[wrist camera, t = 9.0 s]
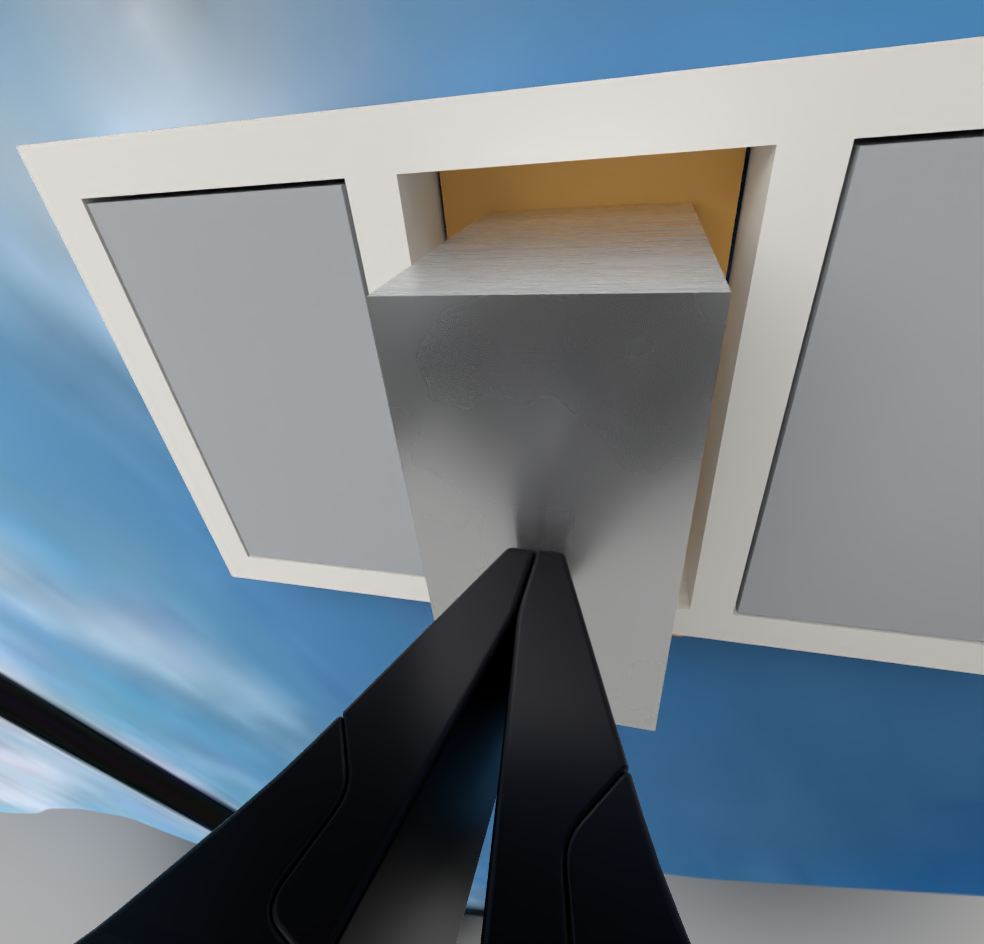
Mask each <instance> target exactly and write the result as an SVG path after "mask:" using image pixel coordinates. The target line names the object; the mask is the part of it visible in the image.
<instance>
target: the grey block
mask: <svg viewBox="0 0 984 944" xmlns="http://www.w3.org/2000/svg"><path fill="white" fill-rule="evenodd" d="M366 297H367V302H368V307H369V311H370V316H371V321H372V326H373V330H374V335H375V340H376V345H377V350H378V354H379V359H380V364H381V369H382V373H383V378H384V383H385V388H386V392H387V397H388V402H389V407H390V412H391V416H392V421H393V426H394V431H395V435H396V440H397V445H398V450H399V455H400V459H401V464H402V469H403V474H404V478H405V483H406V488H407V493H408V498H409V502H410V507H411V512H412V517H413V521H414V526H415V531H416V536H417V540H418V545H419V550H420V555H421V560H422V564H423V569H424V574H425V579H426V583H427V588H428V593H429V598H430V603H431V607H432V612H433V617H434V621H435V620H436V619H437V618H438V617H439V616H440V615H441V614H442V613H443V612H444V611H445V610H446V609H447V608H448V607H449V606H450V605H451V604H452V603H453V602H454V601H455V600H456V599H457V598H458V597H459V596H460V595H461V594H462V593H463V592H464V591H465V590H466V589H467V588H468V587H469V586H470V585H471V584H472V583H473V582H474V581H475V580H476V579H477V578H478V577H479V576H480V575H481V574H482V573H483V572H484V571H485V570H486V569H487V568H488V567H489V566H490V565H491V564H492V563H493V562H494V561H495V560H496V559H497V558H498V557H499V556H500V555H501V554H502V553H503V552H504V551H505V550H507V549H508V548H522V549H531V550H533V551H535V553H537V552H538V551H540V550H543V551H553V552H561V553H563V554H564V555H565V557H566V560H567V563H568V567H569V570H570V573H571V577H572V580H573V583H574V587H575V590H576V593H577V597H578V600H579V604H580V607H581V610H582V614H583V617H584V620H585V624H586V627H587V630H588V634H589V637H590V640H591V644H592V647H593V650H594V654H595V657H596V660H597V664H598V667H599V671H600V674H601V677H602V681H603V684H604V687H605V691H606V694H607V697H608V701H609V704H610V707H611V711H612V714H613V717H614V721H615V724H617V725H623V726H628V727H634V728H640V729H645V730H651V731H655V729H656V723H657V717H658V711H659V706H660V700H661V694H662V688H663V683H664V677H665V671H666V665H667V660H668V654H669V648H670V642H671V637H672V631H673V625H674V619H675V614H676V608H677V602H678V596H679V591H680V585H681V579H682V574H683V568H684V562H685V556H686V551H687V545H688V539H689V533H690V528H691V522H692V516H693V510H694V505H695V499H696V493H697V487H698V482H699V476H700V470H701V464H702V459H703V453H704V447H705V441H706V436H707V430H708V424H709V418H710V413H711V407H712V401H713V395H714V390H715V384H716V378H717V372H718V367H719V361H720V355H721V350H722V344H723V338H724V332H725V327H726V321H727V315H728V309H729V304H730V298H731V290H730V288H729V285H728V283H727V281H726V279H725V277H724V274H723V272H722V270H721V268H720V265H719V263H718V261H717V259H716V256H715V254H714V252H713V250H712V248H711V245H710V243H709V241H708V239H707V236H706V234H705V232H704V230H703V227H702V225H701V223H700V221H699V218H698V216H697V214H696V212H695V210H694V207H693V205H692V203H691V201H688V202H669V203H649V204H629V205H609V206H589V207H570V208H550V209H530V210H510V211H490V212H487V213H485V214H484V215H482V216H481V217H480V218H478V219H477V220H475V221H474V222H472V223H471V224H470V225H468V226H467V227H465V228H464V229H462V230H461V231H459V232H458V233H457V234H455V235H454V236H452V237H451V238H449V239H448V240H447V241H445V242H444V243H442V244H441V245H439V246H438V247H437V248H435V249H434V250H432V251H431V252H429V253H428V254H426V255H425V256H424V257H422V258H421V259H419V260H418V261H416V262H415V263H414V264H412V265H411V266H409V267H408V268H406V269H405V270H404V271H402V272H401V273H399V274H398V275H396V276H395V277H394V278H392V279H391V280H389V281H388V282H386V283H385V284H383V285H382V286H381V287H379V288H378V289H376V290H375V291H373V292H372V293H371V294H369V295H368V296H366Z"/></svg>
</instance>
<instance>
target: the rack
mask: <svg viewBox="0 0 984 944" xmlns="http://www.w3.org/2000/svg"><path fill="white" fill-rule="evenodd" d="M747 147H751V149H750V155H749V161H748V167H747V173H746V180H745V186H744V192H743V198H742V204H741V210H740V216H739V222H738V228H737V235H736V241H735V247H734V253H733V259H732V265H731V271H730V277H729V283H728V285H729V288H730V290H731V298H730V304H729V309H728V315H727V321H726V327H725V332H724V338H723V344H722V350H721V355H720V361H719V367H718V372H717V378H716V384H715V390H714V395H713V401H712V407H711V413H710V418H709V424H708V430H707V436H706V441H705V447H704V453H703V459H702V464H701V470H700V476H699V482H698V487H697V493H696V499H695V505H694V510H693V516H692V522H691V528H690V533H689V539H688V545H687V551H686V556H685V562H684V568H683V574H682V579H681V585H680V591H679V596H678V602H677V608H676V614H675V619H674V625H673V631H672V635H673V636H680V637H683V636H692V637H699V638H707V639H715V640H722V641H730V642H737V643H745V644H753V645H760V646H768V647H776V648H783V649H791V650H799V651H806V652H814V653H822V654H829V655H837V656H844V657H852V658H860V659H867V660H875V661H883V662H890V663H898V664H906V665H913V666H921V667H929V668H936V669H944V670H951V671H959V672H967V673H974V674H982V675H984V37H975V38H966V39H957V40H948V41H939V42H930V43H922V44H913V45H904V46H895V47H886V48H877V49H869V50H860V51H851V52H842V53H833V54H824V55H815V56H807V57H798V58H789V59H780V60H771V61H762V62H753V63H745V64H736V65H727V66H718V67H709V68H700V69H692V70H683V71H674V72H665V73H656V74H647V75H638V76H630V77H621V78H612V79H603V80H594V81H585V82H577V83H568V84H559V85H550V86H541V87H532V88H523V89H515V90H506V91H497V92H488V93H479V94H470V95H462V96H453V97H444V98H435V99H426V100H417V101H408V102H400V103H391V104H382V105H373V106H364V107H355V108H347V109H338V110H329V111H320V112H311V113H302V114H293V115H285V116H276V117H267V118H258V119H249V120H240V121H232V122H223V123H214V124H205V125H196V126H187V127H178V128H170V129H161V130H152V131H143V132H134V133H125V134H116V135H108V136H99V137H90V138H81V139H72V140H63V141H55V142H46V143H37V144H28V145H19V146H16V148H17V150H18V152H19V154H20V156H21V158H22V160H23V162H24V164H25V166H26V168H27V170H28V172H29V174H30V176H31V178H32V180H33V182H34V184H35V186H36V188H37V190H38V192H39V194H40V196H41V197H42V199H43V201H44V203H45V205H46V207H47V209H48V211H49V213H50V215H51V217H52V219H53V221H54V223H55V225H56V227H57V229H58V231H59V233H60V235H61V237H62V239H63V241H64V243H65V245H66V247H67V249H68V251H69V253H70V255H71V257H72V259H73V261H74V263H75V265H76V267H77V269H78V271H79V273H80V275H81V277H82V279H83V281H84V283H85V285H86V287H87V289H88V291H89V293H90V295H91V297H92V299H93V301H94V303H95V305H96V307H97V309H98V311H99V313H100V315H101V317H102V319H103V321H104V323H105V325H106V327H107V329H108V331H109V333H110V335H111V337H112V339H113V341H114V342H115V344H116V346H117V348H118V350H119V352H120V354H121V356H122V358H123V360H124V362H125V364H126V366H127V368H128V370H129V372H130V374H131V376H132V378H133V380H134V382H135V384H136V386H137V388H138V390H139V392H140V394H141V396H142V398H143V400H144V402H145V404H146V406H147V408H148V410H149V412H150V414H151V416H152V418H153V420H154V422H155V424H156V426H157V428H158V430H159V432H160V434H161V436H162V438H163V440H164V442H165V444H166V446H167V448H168V450H169V452H170V454H171V456H172V458H173V460H174V462H175V464H176V466H177V468H178V470H179V472H180V474H181V476H182V478H183V480H184V482H185V484H186V485H187V487H188V489H189V491H190V493H191V495H192V497H193V499H194V501H195V503H196V505H197V507H198V509H199V511H200V513H201V515H202V517H203V519H204V521H205V523H206V525H207V527H208V529H209V531H210V533H211V535H212V537H213V539H214V541H215V543H216V545H217V547H218V549H219V551H220V553H221V555H222V557H223V559H224V561H225V563H226V565H227V567H228V569H229V571H230V573H231V575H232V576H233V577H241V578H248V579H256V580H264V581H271V582H279V583H287V584H294V585H302V586H309V587H317V588H325V589H332V590H340V591H348V592H355V593H363V594H371V595H378V596H386V597H394V598H401V599H409V600H416V601H424V602H430V598H429V593H428V588H427V583H426V579H425V574H424V569H423V564H422V560H421V555H420V550H419V545H418V540H417V536H416V531H415V526H414V521H413V517H412V512H411V507H410V502H409V498H408V493H407V488H406V483H405V478H404V474H403V469H402V464H401V459H400V455H399V450H398V445H397V440H396V435H395V431H394V426H393V421H392V416H391V412H390V407H389V402H388V397H387V392H386V388H385V383H384V378H383V373H382V369H381V364H380V359H379V354H378V350H377V345H376V340H375V335H374V330H373V326H372V321H371V316H370V311H369V307H368V302H367V297H366V296H368V295H369V294H371V293H372V292H373V291H375V290H376V289H378V288H379V287H381V286H382V285H383V284H385V283H386V282H388V281H389V280H391V279H392V278H394V277H395V276H396V275H398V274H399V273H401V272H402V271H404V270H405V269H406V268H408V267H409V266H411V265H412V264H414V263H415V262H416V261H418V260H419V259H421V258H422V257H424V256H425V255H426V254H428V253H429V252H431V251H432V250H434V249H435V248H437V247H438V246H439V245H441V244H442V243H444V242H445V241H446V234H445V226H444V218H443V210H442V202H441V193H440V185H439V177H438V171H439V174H440V182H441V190H442V198H443V206H444V215H445V223H446V231H447V239H449V238H451V237H452V236H454V235H455V234H457V233H458V232H459V231H461V230H462V229H464V228H465V227H467V226H468V225H470V224H471V223H472V222H474V221H475V220H477V219H478V218H480V217H481V216H482V215H484V214H485V213H487V212H490V211H510V210H530V209H550V208H570V207H589V206H609V205H629V204H649V203H669V202H688V201H691V203H692V205H693V207H694V210H695V212H696V214H697V216H698V218H699V221H700V223H701V225H702V227H703V230H704V232H705V234H706V236H707V239H708V241H709V243H710V245H711V248H712V250H713V252H714V254H715V256H716V259H717V261H718V263H719V265H720V268H721V270H722V272H723V274H724V277H725V279H726V273H727V267H728V261H729V255H730V248H731V242H732V236H733V230H734V223H735V217H736V211H737V205H738V198H739V192H740V186H741V180H742V173H743V167H744V161H745V155H746V148H747Z"/></svg>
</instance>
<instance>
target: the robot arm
mask: <svg viewBox="0 0 984 944" xmlns="http://www.w3.org/2000/svg"><path fill="white" fill-rule="evenodd" d="M496 796H497V797H496ZM495 799H496V806H495V816H494V825H493V834H492V843H491V852H490V862H489V871H488V880H487V889H486V898H485V907H484V917H483V926H482V935H481V944H691V943H690V941H689V938H688V936H687V934H686V931H685V928H684V926H683V923H682V921H681V918H680V916H679V913H678V911H677V908H676V905H675V903H674V900H673V898H672V895H671V893H670V890H669V887H668V885H667V882H666V880H665V877H664V875H663V872H662V869H661V867H660V864H659V861H658V858H657V855H656V852H655V849H654V846H653V843H652V840H651V837H650V834H649V831H648V828H647V825H646V822H645V819H644V816H643V813H642V810H641V807H640V803H639V800H638V797H637V793H636V790H635V787H634V783H633V780H632V777H631V775H630V774H629V773H628V764H627V761H626V758H625V754H624V751H623V748H622V744H621V741H620V737H619V734H618V731H617V727H616V724H615V721H614V717H613V714H612V711H611V707H610V704H609V701H608V697H607V694H606V691H605V687H604V684H603V681H602V677H601V674H600V671H599V667H598V664H597V660H596V657H595V654H594V650H593V647H592V644H591V640H590V637H589V634H588V630H587V627H586V624H585V620H584V617H583V614H582V610H581V607H580V604H579V600H578V597H577V593H576V590H575V587H574V583H573V580H572V577H571V573H570V570H569V567H568V563H567V560H566V557H565V555H564V554H563V553H561V552H553V551H543V550H540V551H538V552H537V553H535V551H533V550H531V549H522V548H508V549H507V550H505V551H504V552H503V553H502V554H501V555H500V556H499V557H498V558H497V559H496V560H495V561H494V562H493V563H492V564H491V565H490V566H489V567H488V568H487V569H486V570H485V571H484V572H483V573H482V574H481V575H480V576H479V577H478V578H477V579H476V580H475V581H474V582H473V583H472V584H471V585H470V586H469V587H468V588H467V589H466V590H465V591H464V592H463V593H462V594H461V595H460V596H459V597H458V598H457V599H456V600H455V601H454V602H453V603H452V604H451V605H450V606H449V607H448V608H447V609H446V610H445V611H444V612H443V613H442V614H441V615H440V616H439V617H438V618H437V619H436V620H435V621H434V622H433V623H432V624H431V625H430V626H429V627H428V628H427V629H426V630H425V631H424V632H423V633H422V634H421V635H420V636H419V637H418V638H417V639H416V640H415V641H414V642H413V643H412V644H411V645H410V646H409V647H408V648H407V649H406V650H405V651H404V652H403V653H402V654H401V655H400V656H399V657H398V658H397V659H396V660H395V661H394V662H393V663H392V664H391V665H390V666H389V667H388V668H387V669H386V670H385V671H384V672H383V673H382V674H381V675H380V676H379V677H378V678H377V679H376V680H375V681H374V682H373V683H372V684H371V685H370V686H369V687H368V688H367V689H366V690H365V691H364V692H363V693H362V694H361V695H360V696H359V697H358V698H357V699H356V700H355V701H354V702H353V703H352V704H351V705H350V706H349V707H348V708H347V709H346V710H345V711H344V712H343V718H342V717H337V718H336V719H335V720H334V721H333V722H332V723H331V724H330V725H329V726H328V727H327V728H326V729H325V730H324V731H323V732H322V733H321V734H320V735H319V736H318V737H317V738H316V739H315V740H314V741H313V742H312V743H311V744H310V745H309V746H308V747H307V748H306V749H305V750H304V751H303V752H302V753H301V754H300V755H298V756H297V757H296V758H295V759H294V760H293V761H292V762H291V763H290V764H289V765H288V766H287V767H286V768H285V769H284V770H283V771H282V772H281V773H280V774H278V775H277V776H276V777H275V778H274V779H273V780H272V781H271V782H269V783H268V784H267V785H266V786H265V787H264V788H262V789H261V790H260V791H259V792H258V793H257V794H256V795H254V796H253V797H252V798H251V799H250V800H249V801H248V802H246V803H245V804H244V805H243V806H242V807H241V808H240V809H238V810H237V811H236V812H235V813H234V814H233V815H231V816H230V817H229V818H228V819H227V820H225V821H224V822H223V823H222V824H221V825H219V826H218V827H217V828H216V829H215V830H214V831H212V832H211V833H210V834H209V835H208V836H206V837H205V838H204V839H203V840H202V841H200V842H199V843H198V844H197V845H196V846H195V847H193V848H192V849H191V850H190V851H188V852H187V853H186V854H185V855H184V856H182V858H180V859H179V860H178V861H176V862H175V863H174V864H173V865H172V866H170V867H169V868H168V869H167V870H166V871H164V872H163V873H162V874H161V875H160V876H159V877H158V878H156V879H155V880H154V881H153V882H151V883H150V884H149V885H148V886H147V887H145V888H144V889H143V890H142V891H141V892H139V893H138V894H137V895H136V896H135V897H133V898H132V899H131V900H130V901H129V902H127V903H126V904H125V905H124V906H123V907H122V908H120V909H119V910H118V911H117V912H115V913H114V914H113V915H112V916H110V917H109V918H108V919H107V920H105V921H104V922H103V923H102V924H100V925H99V926H98V927H97V928H95V929H94V930H92V931H91V932H90V933H88V934H87V935H85V936H84V937H83V938H81V939H80V940H78V941H77V942H76V943H74V944H456V940H457V937H458V933H459V929H460V926H461V922H462V919H463V915H464V912H465V908H466V904H467V901H468V897H469V893H470V890H471V886H472V883H473V879H474V875H475V872H476V868H477V864H478V861H479V857H480V854H481V850H482V846H483V843H484V839H485V835H486V832H487V828H488V825H489V821H490V817H491V814H492V810H493V806H494V803H495Z"/></svg>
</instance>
